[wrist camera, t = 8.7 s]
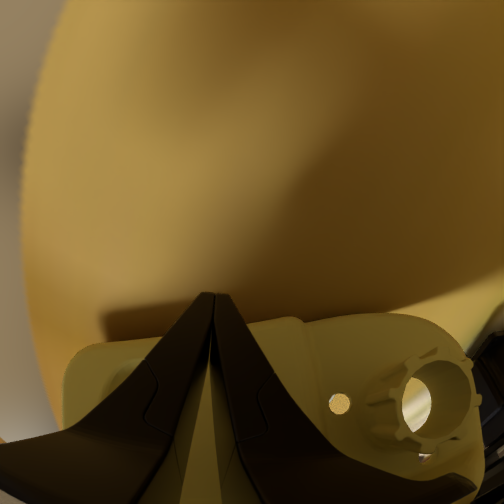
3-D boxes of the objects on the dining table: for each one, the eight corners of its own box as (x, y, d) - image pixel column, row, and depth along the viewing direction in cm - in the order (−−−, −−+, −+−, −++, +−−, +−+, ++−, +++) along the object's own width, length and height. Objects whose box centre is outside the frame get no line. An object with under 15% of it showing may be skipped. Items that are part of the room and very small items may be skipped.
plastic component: (94, 358, 15) (106, 517, 9) (-1, 308, 9) (7, 535, 3) (442, 294, 13) (483, 465, 8) (509, 206, 7) (581, 468, 2)
